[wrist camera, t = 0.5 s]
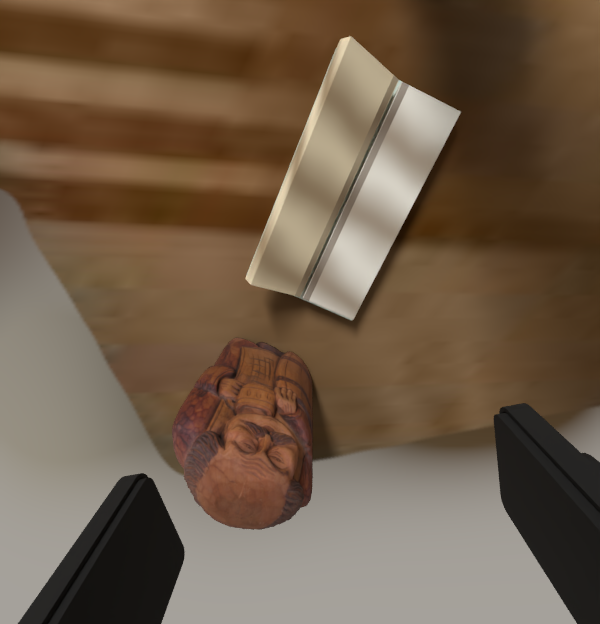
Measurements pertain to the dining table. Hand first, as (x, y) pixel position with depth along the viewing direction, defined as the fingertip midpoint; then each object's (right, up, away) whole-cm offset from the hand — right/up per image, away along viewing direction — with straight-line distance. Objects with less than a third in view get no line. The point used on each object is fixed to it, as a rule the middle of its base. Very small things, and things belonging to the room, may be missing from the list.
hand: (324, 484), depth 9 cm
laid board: (+6, +14, +23) cm, 28 cm away
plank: (+1, +16, +21) cm, 26 cm away
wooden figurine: (-4, -2, +29) cm, 29 cm away
